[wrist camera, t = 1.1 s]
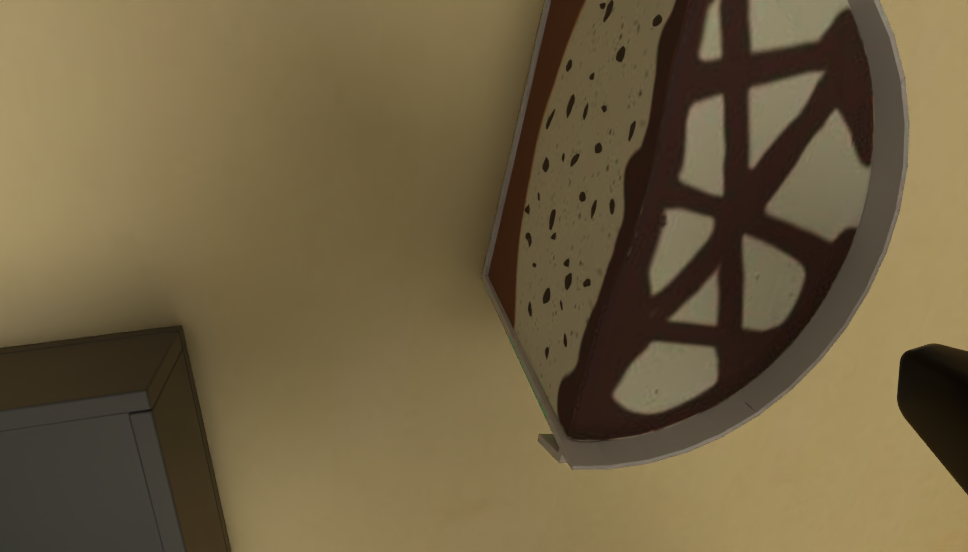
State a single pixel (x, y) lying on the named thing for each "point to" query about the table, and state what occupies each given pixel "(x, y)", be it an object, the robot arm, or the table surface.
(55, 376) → the dark gray square tray
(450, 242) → the table surface
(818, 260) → the food container
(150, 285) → the table surface
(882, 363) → the table surface
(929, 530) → the table surface
